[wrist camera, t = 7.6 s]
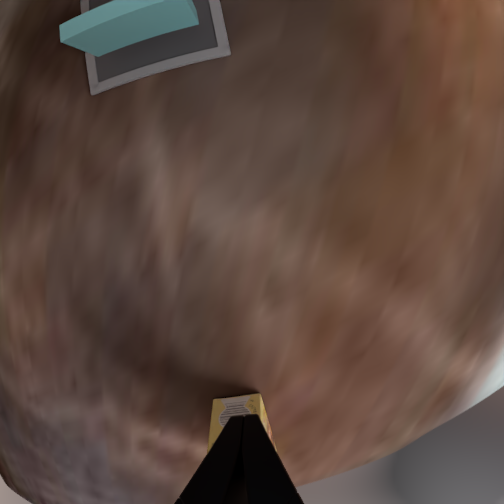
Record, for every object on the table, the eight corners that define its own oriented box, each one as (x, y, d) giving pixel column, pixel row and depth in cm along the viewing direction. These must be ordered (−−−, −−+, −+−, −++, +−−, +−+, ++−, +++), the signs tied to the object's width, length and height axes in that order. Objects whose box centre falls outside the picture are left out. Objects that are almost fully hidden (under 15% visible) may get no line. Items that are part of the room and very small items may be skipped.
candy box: (210, 396, 24) (188, 575, 10) (262, 390, 24) (268, 577, 10) (237, 454, 27) (232, 593, 13) (280, 449, 27) (289, 591, 13)
